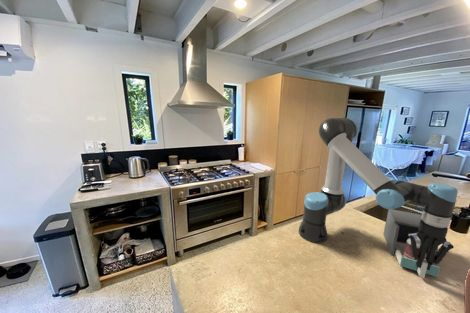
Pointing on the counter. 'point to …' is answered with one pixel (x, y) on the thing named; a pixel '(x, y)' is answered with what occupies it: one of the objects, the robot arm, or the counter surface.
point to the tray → (410, 262)
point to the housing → (400, 228)
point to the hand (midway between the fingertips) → (420, 274)
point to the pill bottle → (409, 251)
